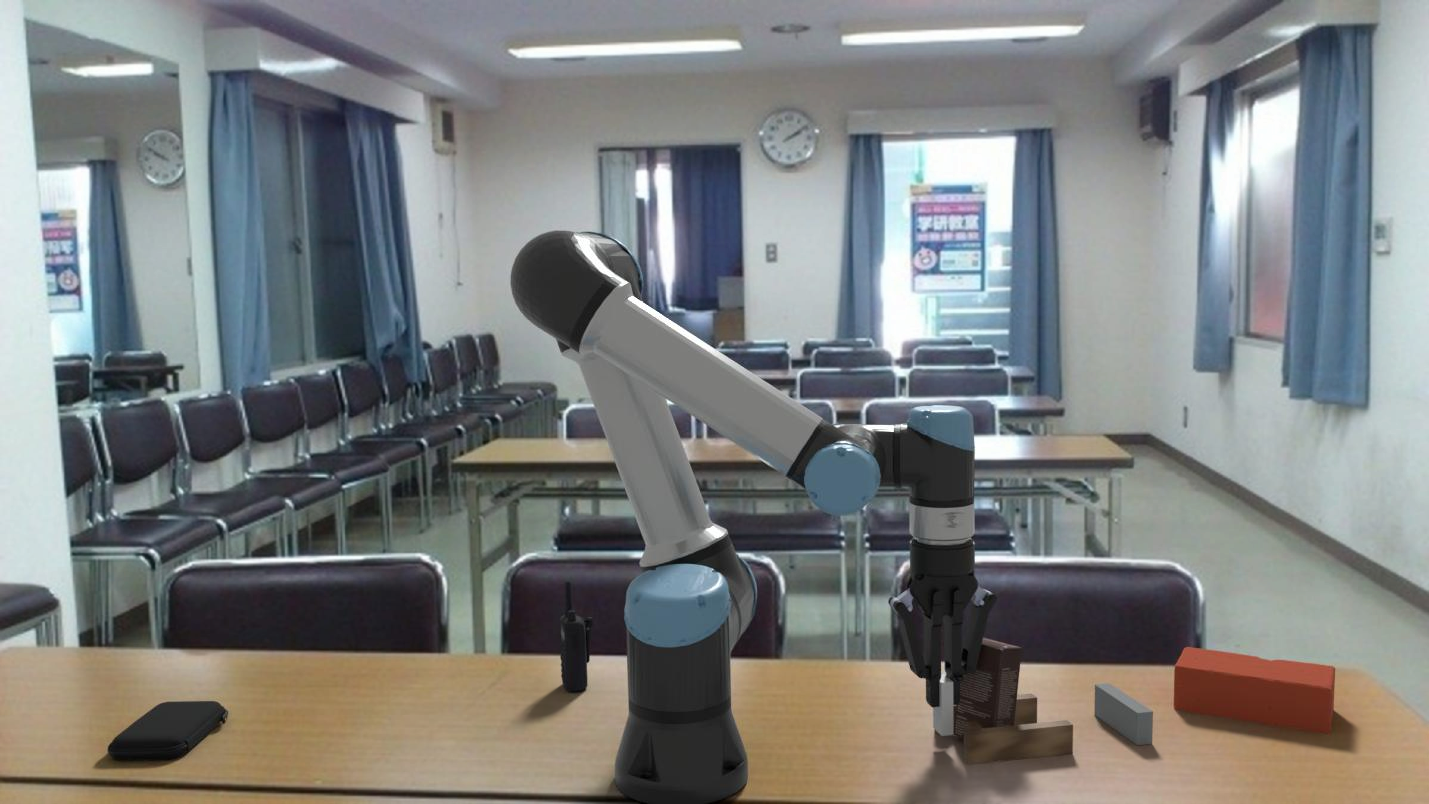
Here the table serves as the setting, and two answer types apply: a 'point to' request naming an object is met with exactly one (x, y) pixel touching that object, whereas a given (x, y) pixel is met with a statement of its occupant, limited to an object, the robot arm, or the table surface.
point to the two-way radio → (574, 645)
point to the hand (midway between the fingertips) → (943, 730)
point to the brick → (1255, 689)
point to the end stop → (1124, 714)
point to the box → (990, 688)
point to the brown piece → (1017, 736)
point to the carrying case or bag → (167, 730)
